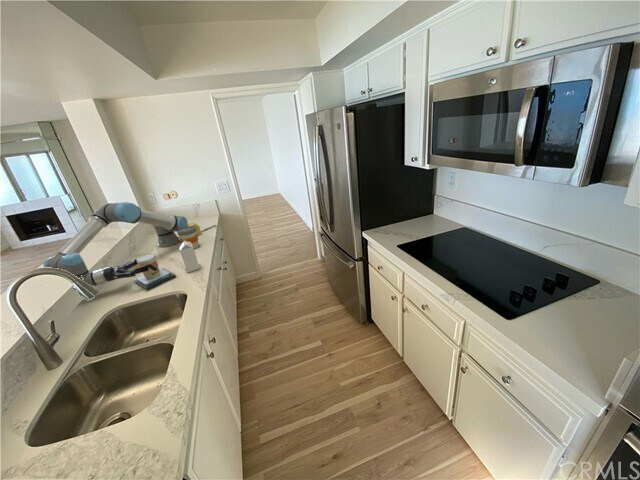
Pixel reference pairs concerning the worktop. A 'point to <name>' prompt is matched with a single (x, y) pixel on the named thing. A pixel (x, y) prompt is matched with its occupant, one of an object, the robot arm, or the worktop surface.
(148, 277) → the coffee cup
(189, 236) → the reusable coffee cup
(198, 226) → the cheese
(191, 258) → the milk carton
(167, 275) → the scale
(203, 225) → the worktop surface
